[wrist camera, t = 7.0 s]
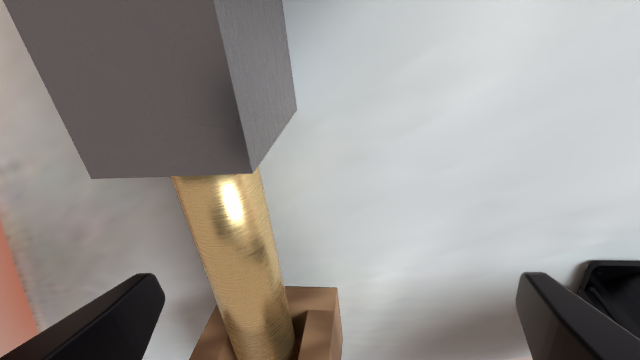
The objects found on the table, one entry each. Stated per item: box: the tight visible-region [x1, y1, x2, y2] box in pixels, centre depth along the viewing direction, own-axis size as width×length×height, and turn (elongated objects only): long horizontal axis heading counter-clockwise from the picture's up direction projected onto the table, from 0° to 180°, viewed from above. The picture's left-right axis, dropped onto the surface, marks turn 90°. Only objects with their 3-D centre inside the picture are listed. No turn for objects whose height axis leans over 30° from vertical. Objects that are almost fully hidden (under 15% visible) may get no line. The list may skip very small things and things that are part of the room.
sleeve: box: [3, 0, 297, 179], centre depth 13 cm, size 7×11×8 cm, turn 6°
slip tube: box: [171, 166, 300, 360], centre depth 18 cm, size 4×20×4 cm, turn 6°
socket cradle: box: [189, 286, 343, 360], centre depth 24 cm, size 9×6×7 cm, turn 96°
